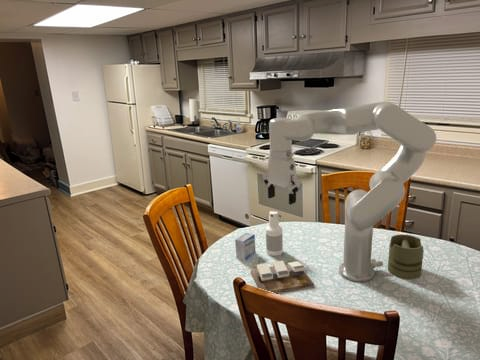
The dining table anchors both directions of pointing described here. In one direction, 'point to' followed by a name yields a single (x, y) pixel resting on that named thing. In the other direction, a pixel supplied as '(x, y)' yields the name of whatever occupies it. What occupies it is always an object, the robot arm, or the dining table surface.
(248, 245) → the medicine box
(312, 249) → the dining table surface
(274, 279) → the switch board
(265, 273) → the block
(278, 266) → the rocker middle
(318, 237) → the dining table surface
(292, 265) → the rocker
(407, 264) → the piston
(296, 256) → the dining table surface
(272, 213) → the spray bottle
